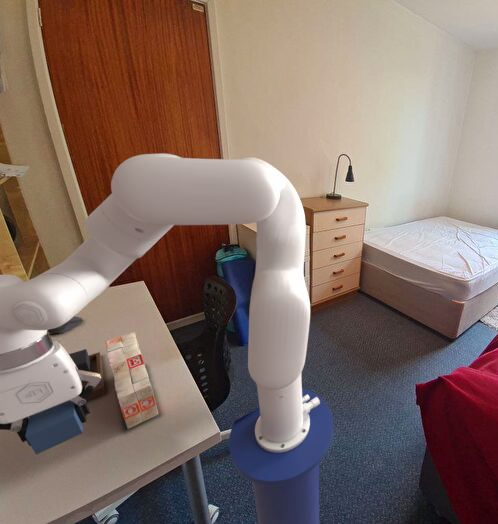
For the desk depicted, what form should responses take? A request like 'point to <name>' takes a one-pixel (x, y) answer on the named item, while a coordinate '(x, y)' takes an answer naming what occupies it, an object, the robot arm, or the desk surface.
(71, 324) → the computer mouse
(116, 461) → the desk surface
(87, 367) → the seated pad
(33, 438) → the blue block
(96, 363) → the pad tray
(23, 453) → the desk surface
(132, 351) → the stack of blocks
